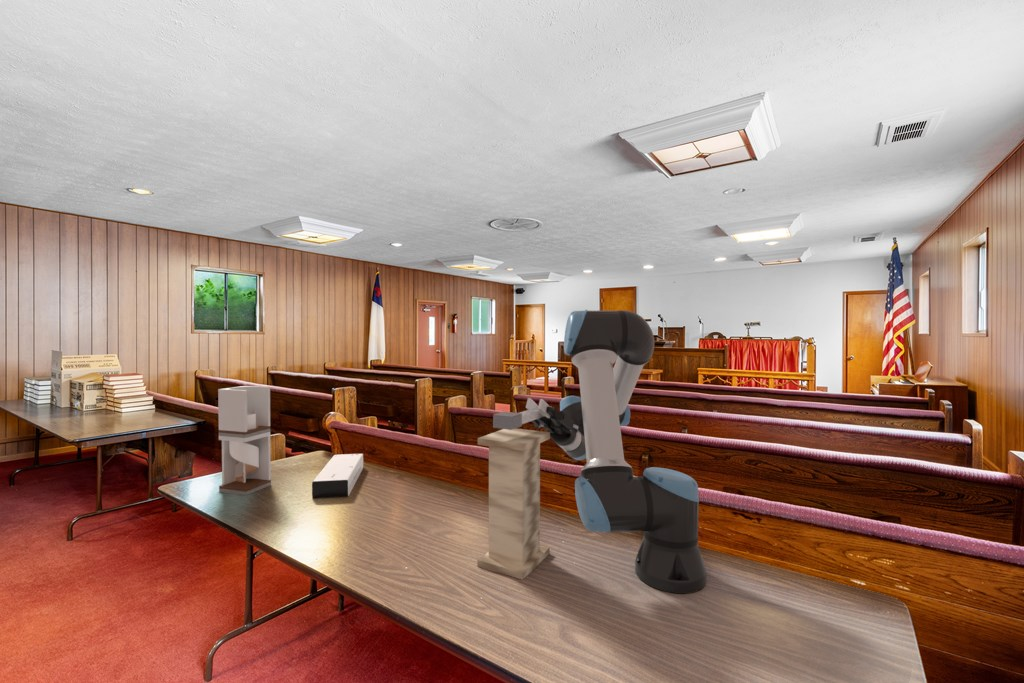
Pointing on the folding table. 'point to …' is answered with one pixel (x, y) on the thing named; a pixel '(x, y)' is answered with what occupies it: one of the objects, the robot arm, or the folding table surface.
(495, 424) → the grey long bar
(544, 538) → the folding table surface
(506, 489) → the pedestal
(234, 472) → the white tower
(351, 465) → the laminator
